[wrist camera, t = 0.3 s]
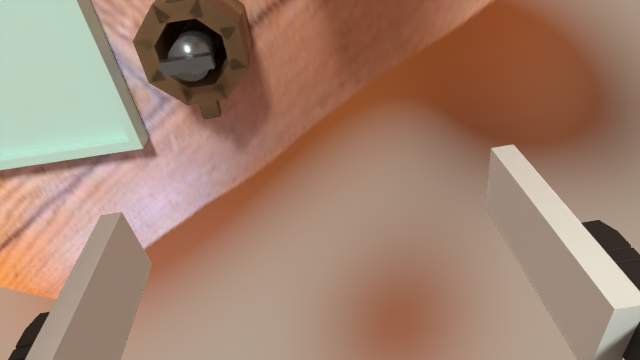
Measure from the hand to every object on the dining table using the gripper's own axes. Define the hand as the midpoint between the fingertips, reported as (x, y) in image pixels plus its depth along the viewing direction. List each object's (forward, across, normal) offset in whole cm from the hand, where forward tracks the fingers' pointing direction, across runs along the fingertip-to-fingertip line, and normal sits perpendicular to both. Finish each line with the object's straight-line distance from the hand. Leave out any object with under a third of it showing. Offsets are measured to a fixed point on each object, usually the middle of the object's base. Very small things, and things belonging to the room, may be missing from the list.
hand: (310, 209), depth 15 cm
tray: (+27, -25, -1) cm, 37 cm away
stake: (+27, -8, 0) cm, 28 cm away
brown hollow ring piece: (+27, -8, 0) cm, 28 cm away
